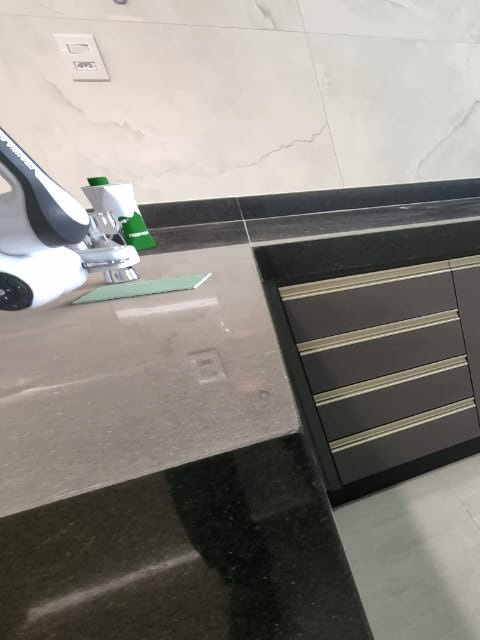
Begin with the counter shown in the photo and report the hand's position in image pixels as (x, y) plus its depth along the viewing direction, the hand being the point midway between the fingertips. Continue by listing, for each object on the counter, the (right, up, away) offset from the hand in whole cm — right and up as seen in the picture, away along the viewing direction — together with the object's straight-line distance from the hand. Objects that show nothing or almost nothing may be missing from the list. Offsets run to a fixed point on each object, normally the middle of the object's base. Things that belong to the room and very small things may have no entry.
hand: (87, 254), depth 109 cm
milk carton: (-33, +10, +45) cm, 57 cm away
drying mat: (+9, -6, +4) cm, 12 cm away
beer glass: (-4, -4, +12) cm, 13 cm away
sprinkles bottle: (-25, +1, +24) cm, 35 cm away
